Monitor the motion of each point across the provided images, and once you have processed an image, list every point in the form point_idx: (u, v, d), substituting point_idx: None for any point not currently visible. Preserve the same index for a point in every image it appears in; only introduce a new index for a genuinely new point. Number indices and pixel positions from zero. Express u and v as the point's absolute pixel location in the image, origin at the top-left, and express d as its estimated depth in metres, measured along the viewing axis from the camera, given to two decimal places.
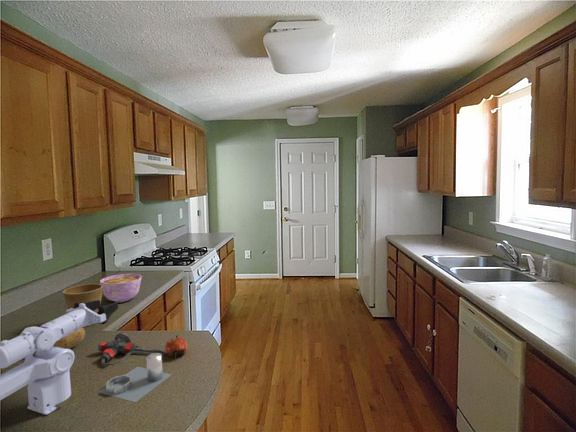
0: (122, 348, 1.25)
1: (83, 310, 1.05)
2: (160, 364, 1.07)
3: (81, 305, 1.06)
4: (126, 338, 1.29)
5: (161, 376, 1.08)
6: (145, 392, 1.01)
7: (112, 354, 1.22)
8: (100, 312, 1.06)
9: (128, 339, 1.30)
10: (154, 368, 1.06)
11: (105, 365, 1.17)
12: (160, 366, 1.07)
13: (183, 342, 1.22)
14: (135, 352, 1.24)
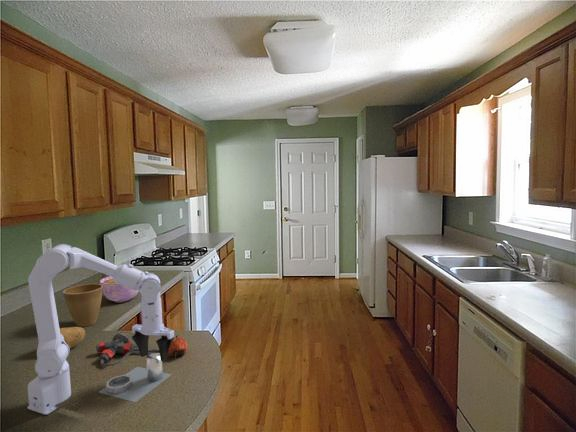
0: (121, 348, 1.25)
1: None
2: (160, 364, 1.07)
3: None
4: (124, 338, 1.29)
5: (161, 376, 1.08)
6: (145, 392, 1.01)
7: (111, 354, 1.21)
8: None
9: (126, 339, 1.29)
10: (154, 368, 1.06)
11: (104, 365, 1.16)
12: (160, 366, 1.07)
13: (183, 342, 1.22)
14: (134, 352, 1.24)
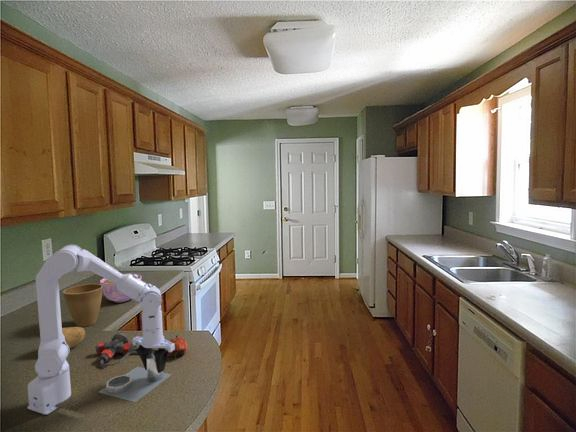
0: (120, 348, 1.25)
1: None
2: None
3: None
4: (124, 338, 1.29)
5: (161, 376, 1.08)
6: (145, 392, 1.01)
7: (111, 355, 1.21)
8: None
9: (126, 339, 1.29)
10: (154, 368, 1.06)
11: (104, 366, 1.16)
12: None
13: (183, 342, 1.22)
14: (134, 352, 1.24)
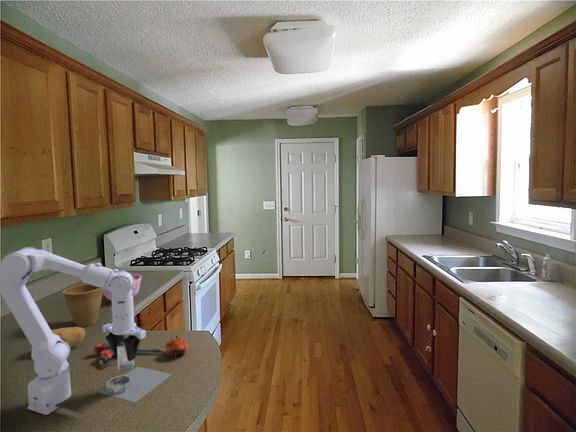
0: None
1: None
2: None
3: None
4: None
5: (132, 365, 1.04)
6: (145, 392, 1.01)
7: (110, 355, 1.21)
8: None
9: None
10: (125, 355, 1.02)
11: (104, 366, 1.16)
12: None
13: (183, 342, 1.22)
14: None
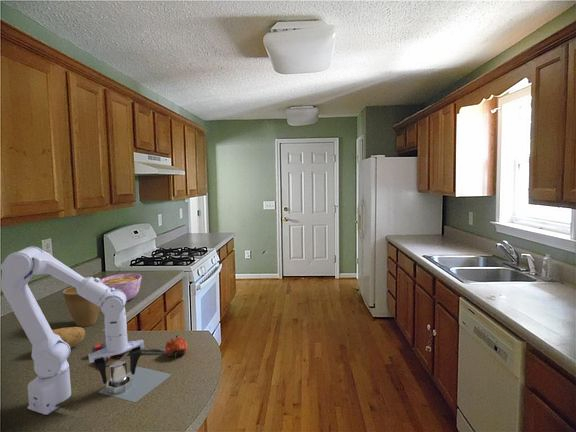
0: None
1: None
2: None
3: None
4: None
5: None
6: (145, 392, 1.01)
7: None
8: None
9: None
10: (125, 373, 1.03)
11: None
12: None
13: (183, 342, 1.22)
14: None
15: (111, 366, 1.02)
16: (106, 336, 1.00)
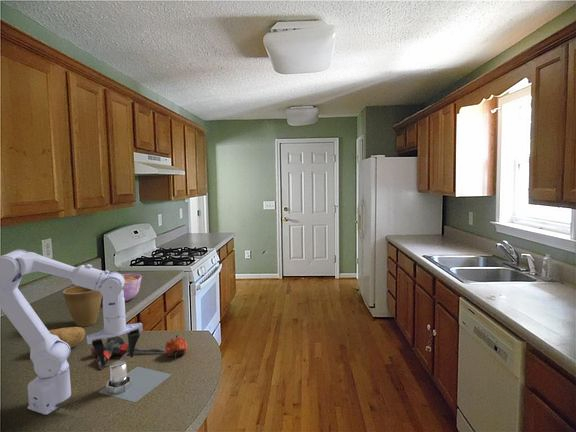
0: (117, 349, 1.24)
1: None
2: None
3: None
4: (120, 339, 1.28)
5: None
6: (145, 392, 1.01)
7: (108, 356, 1.21)
8: None
9: (122, 340, 1.29)
10: (125, 373, 1.03)
11: (103, 367, 1.15)
12: None
13: (183, 342, 1.22)
14: None
15: (111, 366, 1.02)
16: (104, 318, 0.99)
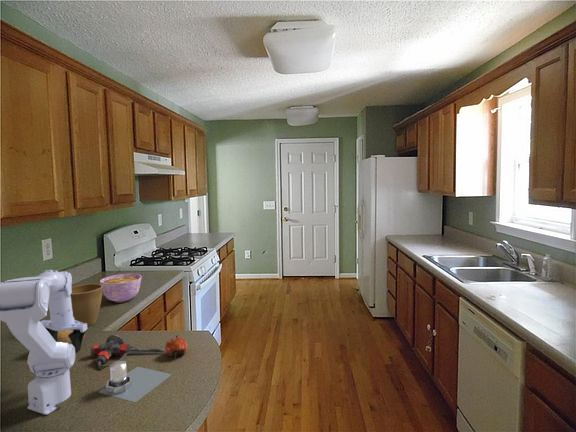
0: (117, 350, 1.24)
1: None
2: None
3: None
4: (119, 339, 1.28)
5: None
6: (145, 392, 1.01)
7: (108, 356, 1.20)
8: None
9: (121, 340, 1.28)
10: (125, 373, 1.03)
11: (103, 367, 1.15)
12: None
13: (183, 342, 1.22)
14: (131, 352, 1.23)
15: (111, 366, 1.02)
16: None
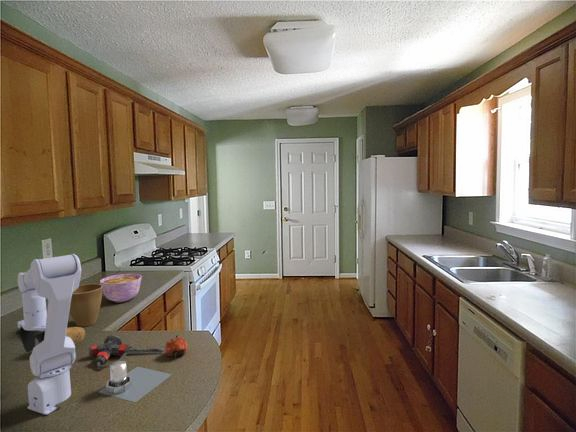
0: (116, 350, 1.24)
1: None
2: None
3: None
4: (117, 340, 1.28)
5: None
6: (145, 392, 1.01)
7: (107, 356, 1.20)
8: None
9: (119, 341, 1.28)
10: (125, 373, 1.03)
11: (102, 367, 1.15)
12: None
13: (183, 342, 1.22)
14: (130, 353, 1.23)
15: (111, 366, 1.02)
16: None
